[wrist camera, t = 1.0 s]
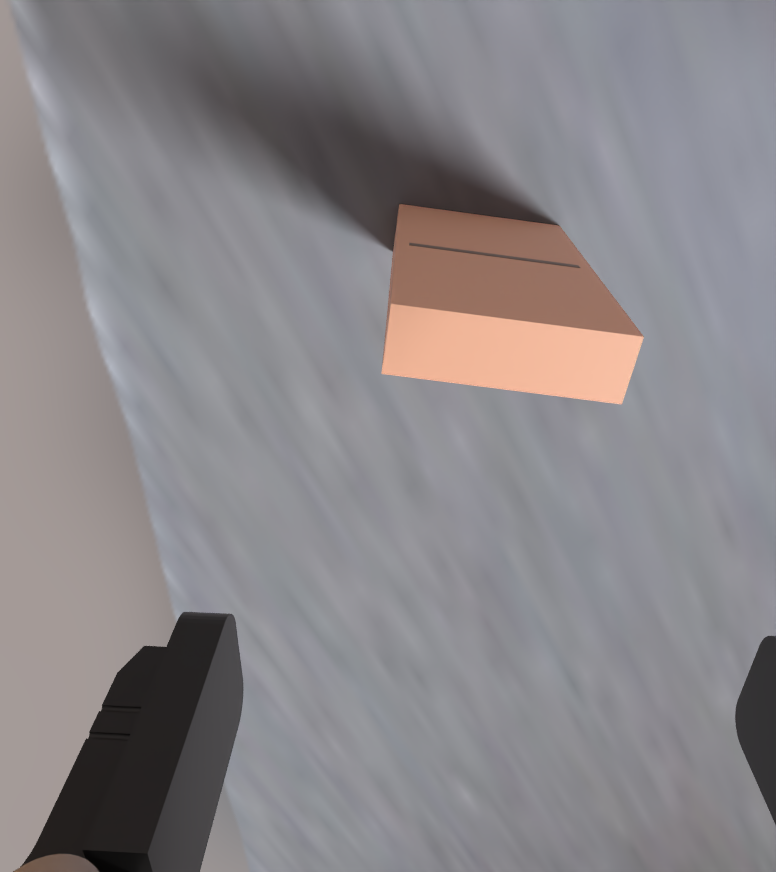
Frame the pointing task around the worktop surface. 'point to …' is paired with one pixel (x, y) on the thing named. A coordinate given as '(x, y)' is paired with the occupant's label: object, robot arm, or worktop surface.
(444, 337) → the rust tile
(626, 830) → the worktop surface
